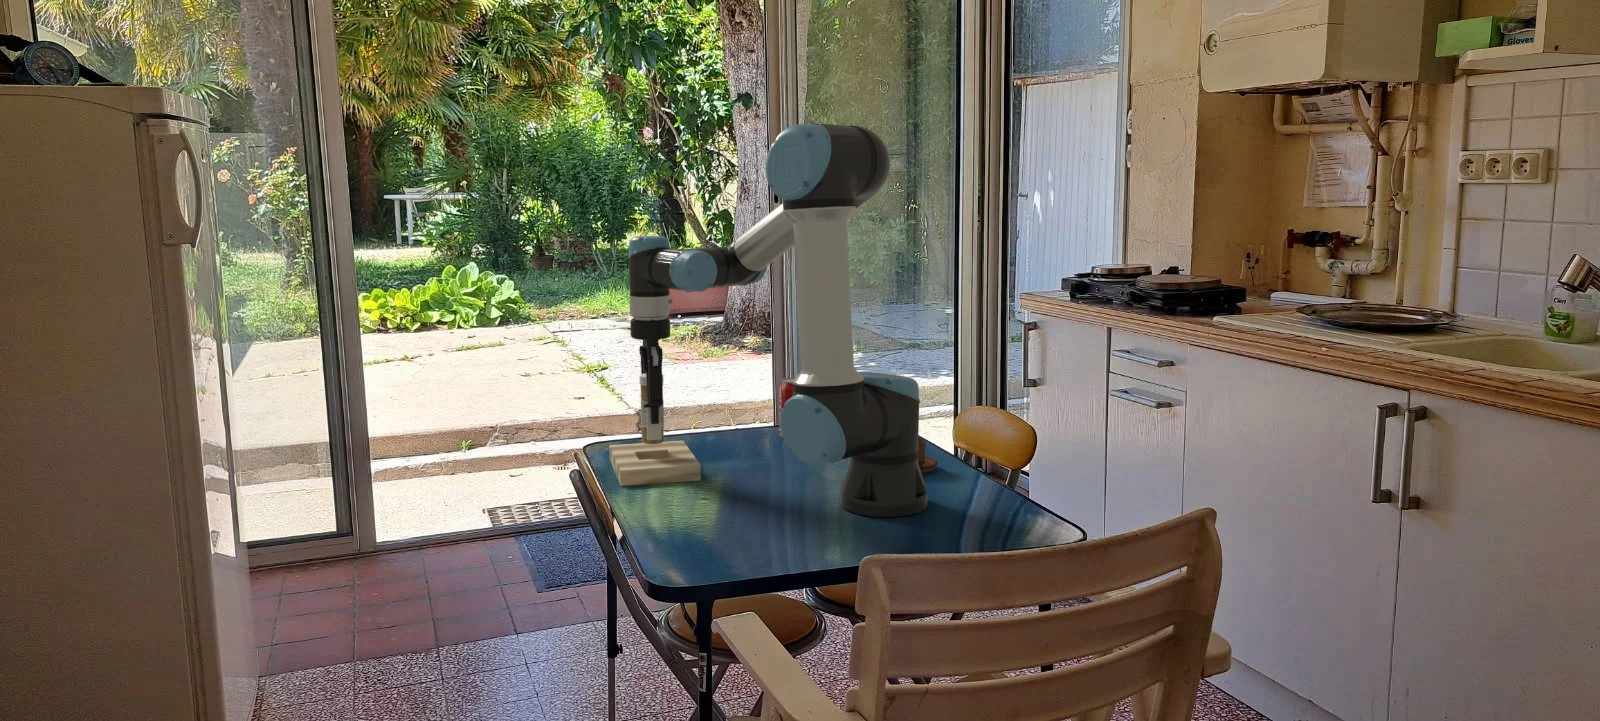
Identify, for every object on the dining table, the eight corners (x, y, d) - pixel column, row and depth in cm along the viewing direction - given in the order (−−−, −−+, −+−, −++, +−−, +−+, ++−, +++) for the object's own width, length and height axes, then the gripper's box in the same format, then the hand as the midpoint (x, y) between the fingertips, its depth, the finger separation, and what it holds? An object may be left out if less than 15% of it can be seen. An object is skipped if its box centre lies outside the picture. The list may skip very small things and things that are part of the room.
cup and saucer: (934, 481, 209) (935, 449, 208) (871, 477, 211) (871, 446, 210) (939, 465, 220) (940, 434, 219) (879, 462, 222) (879, 432, 221)
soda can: (773, 436, 244) (773, 378, 241) (803, 433, 247) (803, 375, 244) (787, 443, 237) (787, 383, 235) (817, 440, 240) (817, 381, 238)
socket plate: (700, 480, 209) (700, 464, 208) (620, 486, 205) (620, 470, 204) (683, 454, 228) (683, 440, 227) (609, 459, 224) (609, 445, 223)
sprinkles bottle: (654, 438, 218) (653, 371, 216) (669, 442, 215) (668, 374, 213) (636, 442, 215) (634, 374, 213) (651, 446, 212) (649, 377, 210)
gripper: (676, 322, 204) (678, 445, 208) (663, 311, 220) (665, 425, 224) (635, 324, 202) (638, 448, 206) (625, 312, 218) (628, 427, 222)
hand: (652, 436), depth 215 cm, fingers closed on sprinkles bottle, 4 cm apart
